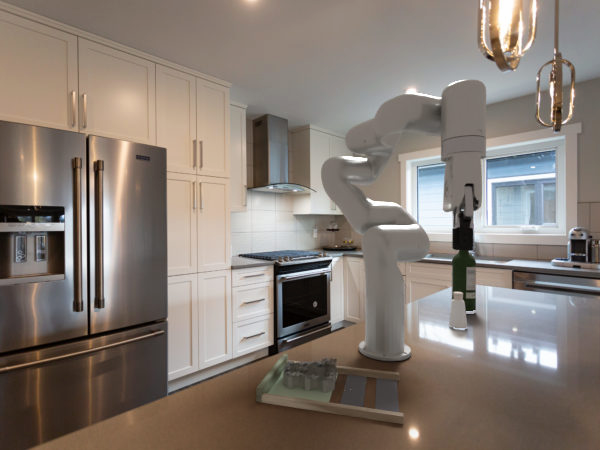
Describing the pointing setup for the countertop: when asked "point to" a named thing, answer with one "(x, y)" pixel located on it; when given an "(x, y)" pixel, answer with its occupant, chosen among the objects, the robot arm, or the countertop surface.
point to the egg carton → (311, 374)
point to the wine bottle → (464, 278)
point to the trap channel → (327, 407)
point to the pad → (299, 392)
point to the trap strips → (384, 393)
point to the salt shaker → (458, 311)
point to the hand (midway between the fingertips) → (462, 249)
